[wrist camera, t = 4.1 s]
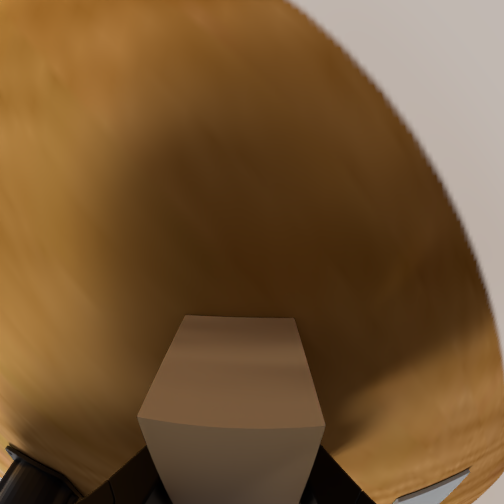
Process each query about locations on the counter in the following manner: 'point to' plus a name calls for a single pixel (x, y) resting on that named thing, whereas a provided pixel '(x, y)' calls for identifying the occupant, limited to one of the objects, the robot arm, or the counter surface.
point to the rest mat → (433, 491)
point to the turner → (233, 413)
